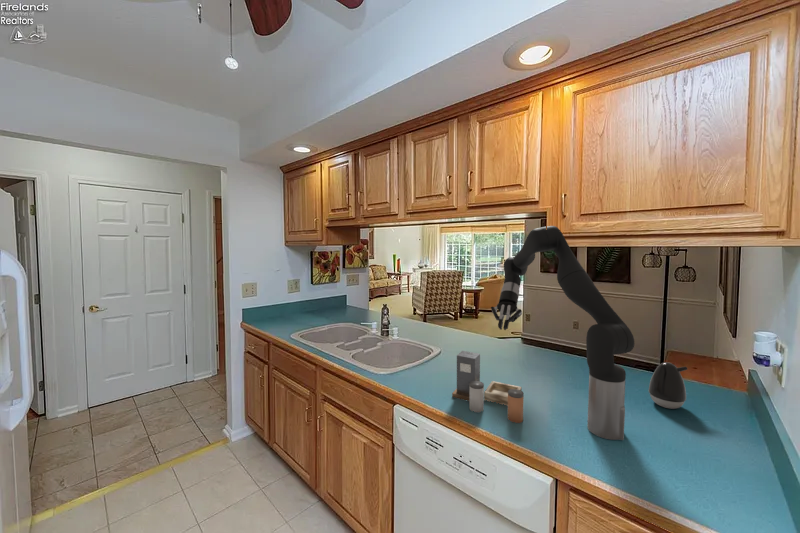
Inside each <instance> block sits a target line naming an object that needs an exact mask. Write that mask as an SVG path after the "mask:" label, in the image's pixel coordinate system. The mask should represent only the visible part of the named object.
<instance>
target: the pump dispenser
mask: <svg viewBox="0 0 800 533" xmlns="http://www.w3.org/2000/svg"><path fill="white" fill-rule="evenodd" d="M683 371H688V367H687V366H681V367H677V366H676V365H675V364H673V363H672V362H668V361H667V362H661V363H659V365H657V366H656V369H655V370H654V372H653V374H652V376H651V378H650V380H649V386H648V393H649V396H650V398H651V400H652V401H653V402H654V403H655V404H656V405H657V406H659V407H662V408H666V409H672V410H675V409H680V408H681V407H682V406H683V405H684V404H685V402H686V401H687V390H686V389H687V388H686V385H685V380H684V379H683V378H684V377H683V376H682V374H681V372H683Z"/></svg>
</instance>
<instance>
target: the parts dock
mask: <svg viewBox="0 0 800 533" xmlns="http://www.w3.org/2000/svg"><path fill="white" fill-rule="evenodd" d="M510 389H518V390H521V391H522V386H520V385H513V384H508V383H505V382H504V383H503V382H500V381H495V380H491V382H490V383H489V385H488V386H487V387H486V388H485V389H484V401H486V400H487V401H486V402H490V401H491V402H492V403H494V402H496V403H495V404H498V403H499V404H498V405H503V404H504V405H503V406H507V407H508V390H510Z"/></svg>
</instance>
